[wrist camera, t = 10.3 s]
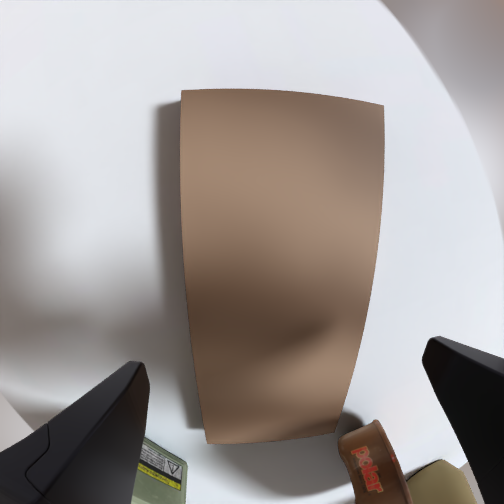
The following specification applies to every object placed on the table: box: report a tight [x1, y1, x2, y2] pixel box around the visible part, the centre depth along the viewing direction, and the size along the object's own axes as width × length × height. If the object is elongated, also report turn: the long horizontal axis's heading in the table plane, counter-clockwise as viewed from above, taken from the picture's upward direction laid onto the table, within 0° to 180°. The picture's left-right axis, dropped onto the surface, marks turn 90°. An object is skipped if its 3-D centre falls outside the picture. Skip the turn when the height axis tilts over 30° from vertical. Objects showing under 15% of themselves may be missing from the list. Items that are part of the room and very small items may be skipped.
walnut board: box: [180, 89, 385, 444], centre depth 11 cm, size 16×7×1 cm, turn 0°
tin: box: [338, 420, 413, 504], centre depth 11 cm, size 15×3×8 cm, turn 25°
